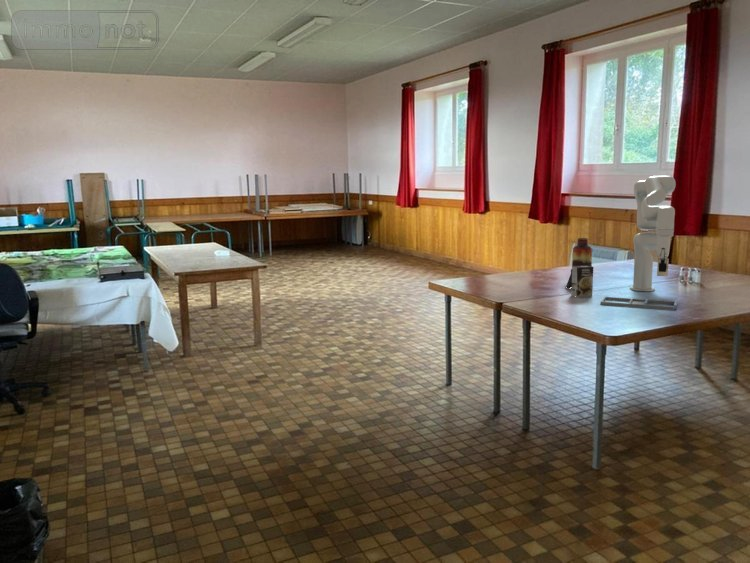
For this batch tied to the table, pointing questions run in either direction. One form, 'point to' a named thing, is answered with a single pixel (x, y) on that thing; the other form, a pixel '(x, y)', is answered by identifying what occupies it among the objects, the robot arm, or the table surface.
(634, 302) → the grey flat frame
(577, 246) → the vase
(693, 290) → the table surface
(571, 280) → the phone stand
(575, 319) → the table surface
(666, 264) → the tan wooden block
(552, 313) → the table surface
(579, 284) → the coffee box
